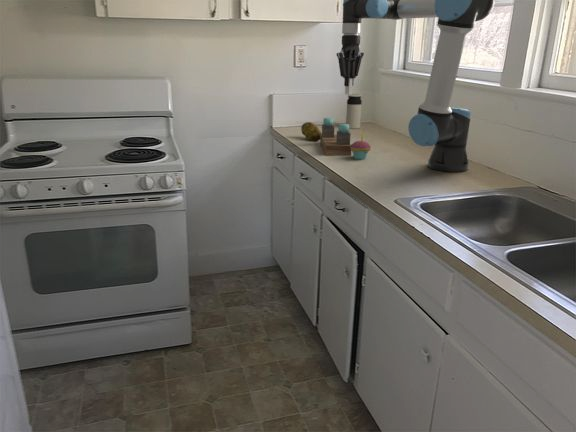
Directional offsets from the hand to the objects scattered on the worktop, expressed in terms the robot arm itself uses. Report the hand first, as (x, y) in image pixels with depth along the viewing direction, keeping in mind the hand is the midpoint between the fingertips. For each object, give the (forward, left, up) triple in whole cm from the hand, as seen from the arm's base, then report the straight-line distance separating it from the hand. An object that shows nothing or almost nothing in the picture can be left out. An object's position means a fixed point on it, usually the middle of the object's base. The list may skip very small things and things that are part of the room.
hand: (348, 94), depth 203 cm
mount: (+7, +4, -25) cm, 26 cm away
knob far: (+15, +6, -20) cm, 26 cm away
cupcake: (-11, -5, -25) cm, 28 cm away
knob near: (-1, +1, -21) cm, 21 cm away
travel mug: (+61, -13, -25) cm, 67 cm away
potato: (+28, +13, -25) cm, 40 cm away
